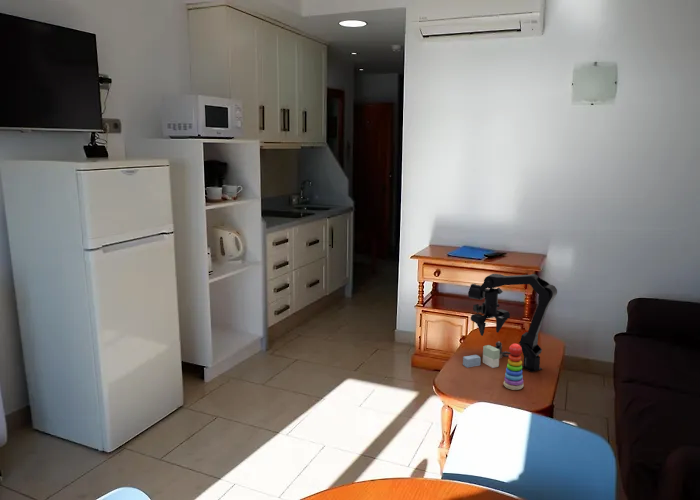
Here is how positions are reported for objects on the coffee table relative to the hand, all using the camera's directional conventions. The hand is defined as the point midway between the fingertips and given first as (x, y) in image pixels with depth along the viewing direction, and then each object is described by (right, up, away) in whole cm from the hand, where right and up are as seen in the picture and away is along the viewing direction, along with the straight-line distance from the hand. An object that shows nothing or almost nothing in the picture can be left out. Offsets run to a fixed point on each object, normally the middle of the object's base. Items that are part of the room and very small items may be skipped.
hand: (489, 333), depth 251 cm
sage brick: (-1, -9, -5) cm, 11 cm away
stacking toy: (+3, -18, -27) cm, 32 cm away
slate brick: (-10, -14, -5) cm, 17 cm away
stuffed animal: (+6, -11, +9) cm, 15 cm away
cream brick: (-1, -13, -5) cm, 14 cm away
